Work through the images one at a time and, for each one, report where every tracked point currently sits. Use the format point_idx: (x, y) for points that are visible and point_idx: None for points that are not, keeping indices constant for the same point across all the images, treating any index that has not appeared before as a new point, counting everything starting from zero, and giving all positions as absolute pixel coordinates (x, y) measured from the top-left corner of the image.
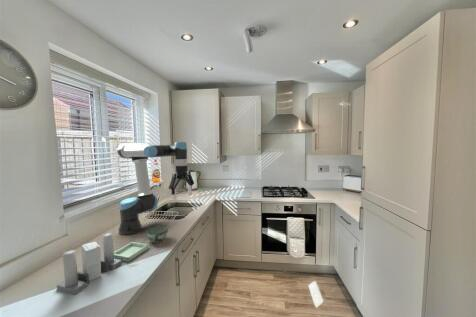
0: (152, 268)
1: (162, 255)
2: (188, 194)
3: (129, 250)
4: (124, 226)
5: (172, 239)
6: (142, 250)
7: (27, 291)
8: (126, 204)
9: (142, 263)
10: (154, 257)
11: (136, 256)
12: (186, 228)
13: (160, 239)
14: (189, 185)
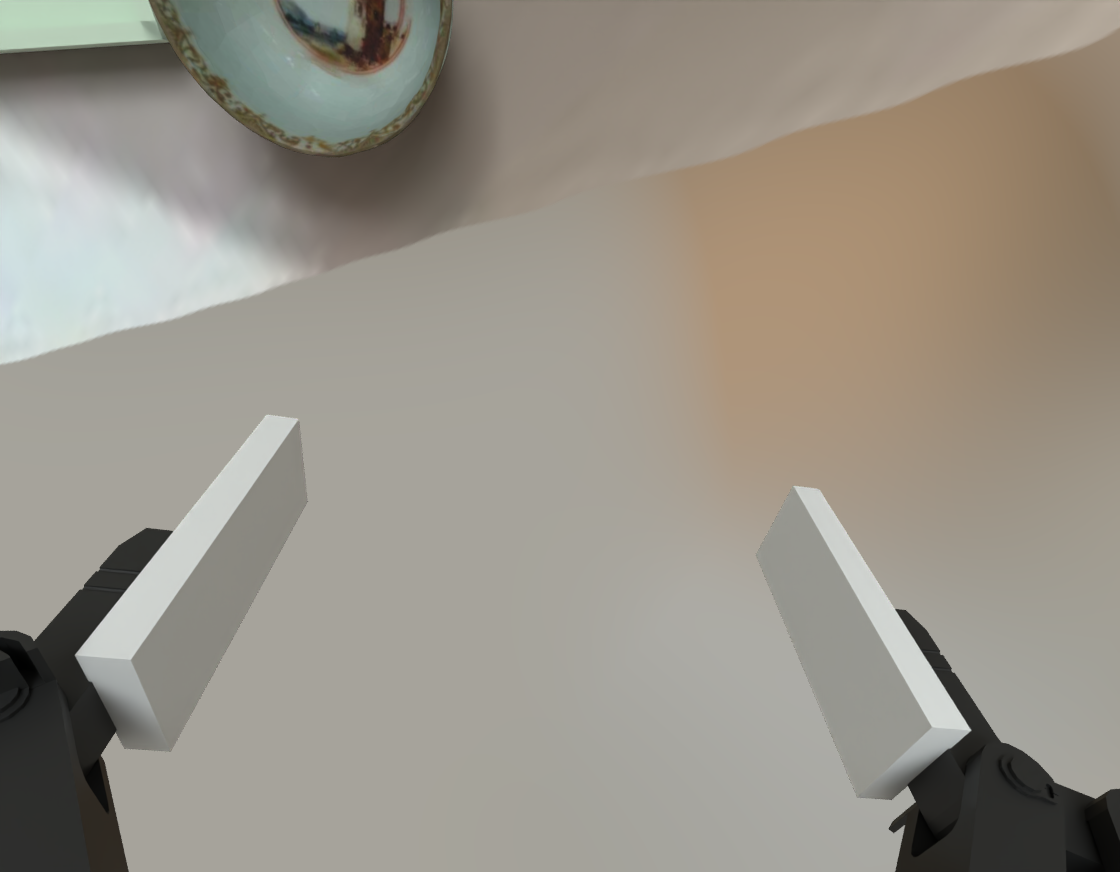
0: (76, 328)
1: (213, 276)
2: (789, 496)
3: None
4: None
5: (454, 156)
6: (91, 45)
7: None
8: None
9: (39, 208)
10: (152, 235)
11: (26, 51)
12: (741, 123)
13: (306, 103)
14: (903, 765)
